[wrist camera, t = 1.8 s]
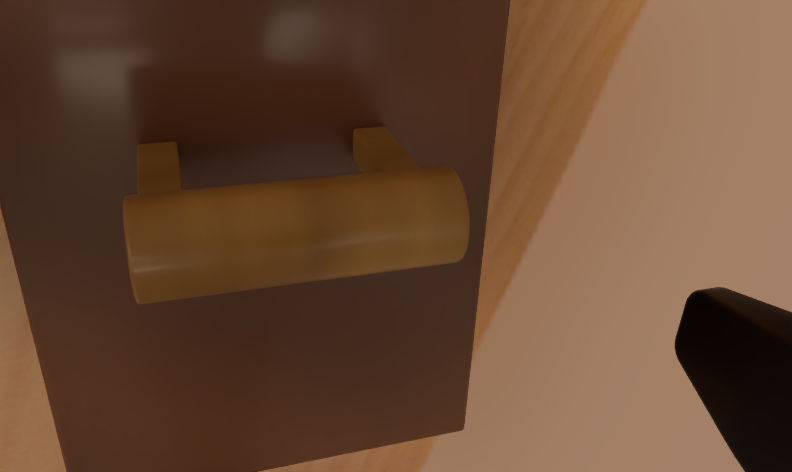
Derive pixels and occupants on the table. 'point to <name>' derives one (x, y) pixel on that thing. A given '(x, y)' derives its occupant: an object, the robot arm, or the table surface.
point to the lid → (248, 221)
